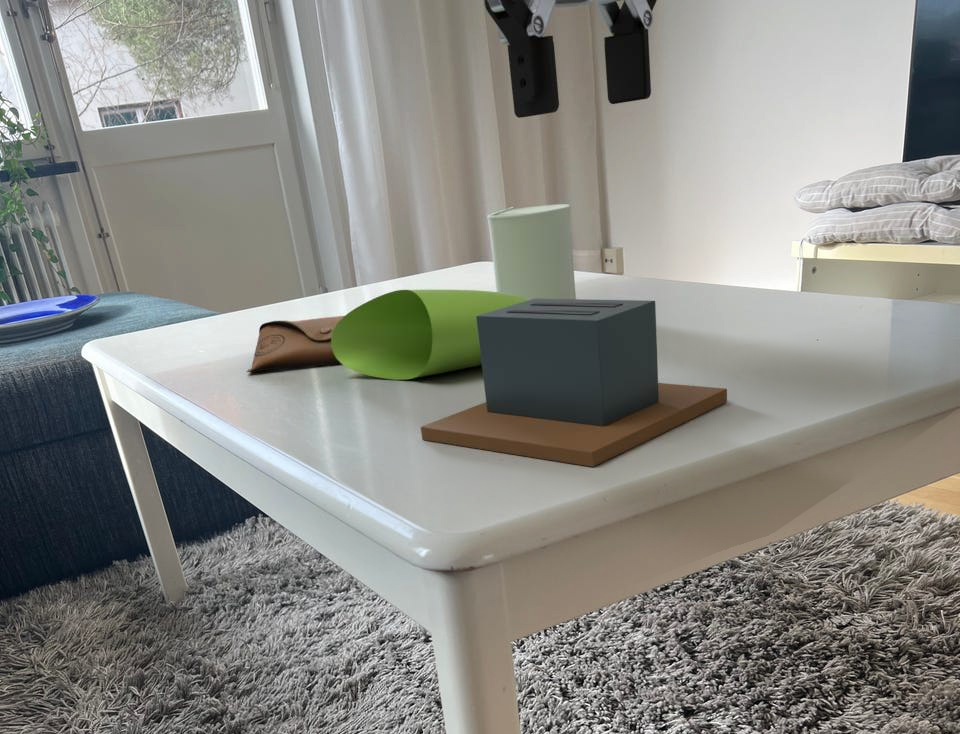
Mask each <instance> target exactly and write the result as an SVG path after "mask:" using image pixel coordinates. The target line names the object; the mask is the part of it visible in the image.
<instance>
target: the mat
mask: <svg viewBox="0 0 960 734" xmlns="http://www.w3.org/2000/svg"><path fill="white" fill-rule="evenodd" d="M658 393H659V402H657V403H655V404H653V405H650V406H648V407H646V408H644V409H641V410H639V411H637V412H635V413H633V414H630V415H628V416H626V417H624V418H622V419H619V420H617V421H615V422H613V423H610V424H608V425H606V426H597V425H589V424H581V423H573V422H565V421H557V420H549V419H540V418H532V417H524V416H516V415H508V414H500V413H492V412H487V405H486V401H485V402H483V403H482V402H481V403H479V404H477V405H475V406H471V407H469V408H466V409H464V410H462V411H459V412H455V413H453V414H451V415H448V416H445V417H442V418H440V419H438V420H435V421H433V422H429V423H427V424H425V425H422V426H420V433H421V439H422V440H423V441H427V442H435V443H442V444H447V445H453V446H460V447H467V448H472V449H478V450H485V451H491V452H497V453H502V454H510V455H516V456H522V457H529V458H533V459H534V458H535V459H542V460H547V461H554V462H560V463H566V464H573V465H578V466H585V467H592V468H594V467H596V466H598V465H600V464H602V463H604V462H606V461H609V460H610V459H612V458H614V457H616V456H619V455H621V454H622V453H625V452H627V451H629V450H632V449H633V448H635V447H637V446H639V445H641V444H643V443H645V442H647V441H650V440H652V439H653V438H656V437H658V436H660V435H662V434H664V433H666V432H668V431H670V430H673V429H675V428H677V427H678V426H680V425H682V424H684V423H687V422H689V421H691V420H693V419H695V418H696V417H699V416H701V415H703V414H705V413H708V412H709V411H711V410H714V409H715V408H718V407H720V406H721V405H724V404H725V403H727V402H728V389H727V388H724V387H714V386H712V387H711V386H701V385H700V386H699V385H689V384H688V385H687V384H677V383H667V382H666V383H664V382H658Z"/></svg>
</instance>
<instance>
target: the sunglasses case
mask: <svg viewBox="0 0 960 734" xmlns="http://www.w3.org/2000/svg"><path fill="white" fill-rule="evenodd" d="M344 316H345V315H339V316H327V317H318V318H310V319H302V320H271V321H267V322H264V323H262V324H261V325H260V327H259V329H258V338H257V340H256V341H257V342H256V346H255V350H254V354H253V360H252V363H251V367H250V368H248V369H247V371H246V373H254V372H259V371H267V370H278V369H297V368H307V367H319V366H320V367H322V366H332V365H334V366H335V365H342V364H341V363H340V362H339V361H338V360H337V358H336V357H335V355H334V353H333V350H332V345H331V337H332V332H333V330H334V328H335V326H336V325H337V323H338V322H339V321H340V320H341V319H342V318H343V317H344Z"/></svg>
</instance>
